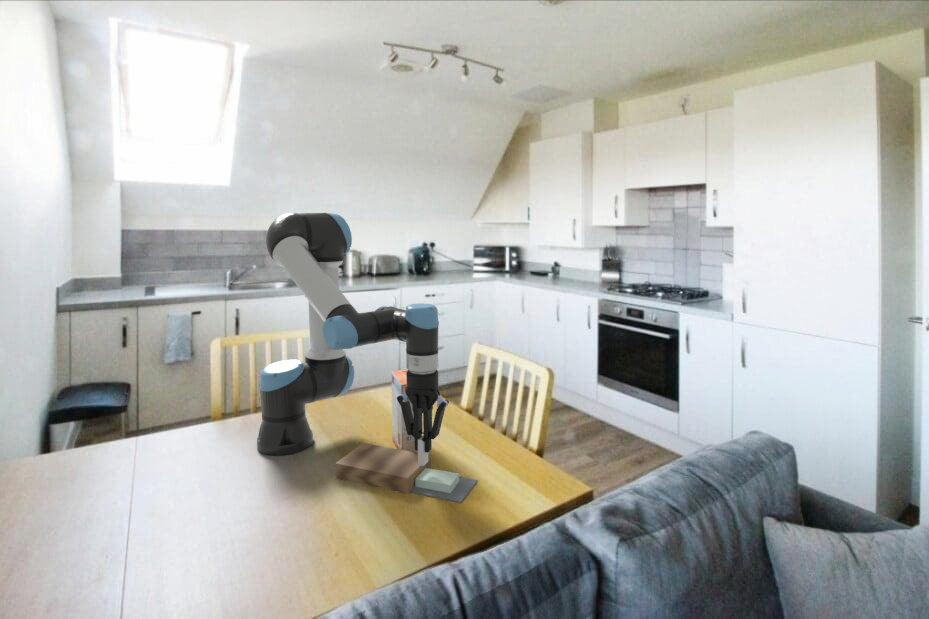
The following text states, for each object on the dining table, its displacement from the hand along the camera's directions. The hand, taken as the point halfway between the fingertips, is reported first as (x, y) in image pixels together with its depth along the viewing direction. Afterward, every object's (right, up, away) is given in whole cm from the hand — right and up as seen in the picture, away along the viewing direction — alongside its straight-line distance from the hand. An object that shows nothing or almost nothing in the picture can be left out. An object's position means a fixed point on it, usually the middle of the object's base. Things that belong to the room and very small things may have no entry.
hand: (423, 463), depth 130 cm
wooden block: (-10, -4, +5) cm, 12 cm away
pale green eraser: (+4, -5, -1) cm, 6 cm away
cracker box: (-6, -2, +20) cm, 21 cm away
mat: (+5, -5, -1) cm, 8 cm away
